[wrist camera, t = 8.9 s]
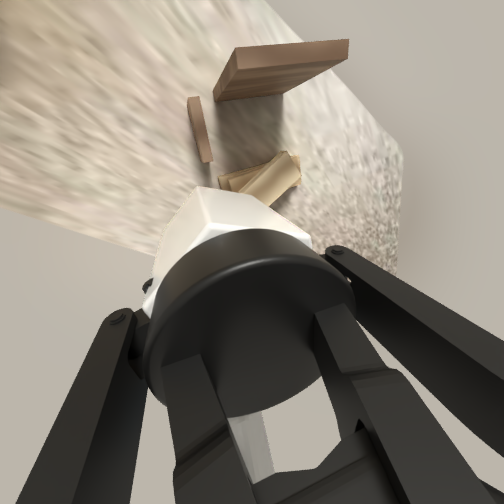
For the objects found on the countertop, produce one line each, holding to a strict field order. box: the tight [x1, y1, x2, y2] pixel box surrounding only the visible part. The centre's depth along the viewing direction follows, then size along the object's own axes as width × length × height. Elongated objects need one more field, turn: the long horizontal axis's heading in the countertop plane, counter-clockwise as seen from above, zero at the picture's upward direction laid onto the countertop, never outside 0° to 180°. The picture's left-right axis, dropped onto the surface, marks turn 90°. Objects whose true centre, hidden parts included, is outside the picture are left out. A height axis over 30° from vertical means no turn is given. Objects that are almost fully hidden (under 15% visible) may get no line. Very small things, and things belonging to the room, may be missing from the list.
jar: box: [142, 186, 356, 418], centre depth 13 cm, size 9×8×12 cm
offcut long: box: [218, 155, 301, 192], centre depth 40 cm, size 5×16×2 cm, turn 102°
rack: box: [187, 39, 349, 163], centre depth 28 cm, size 10×16×16 cm, turn 98°
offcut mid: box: [226, 156, 301, 193], centre depth 38 cm, size 5×13×2 cm, turn 106°
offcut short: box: [238, 151, 302, 207], centre depth 35 cm, size 5×10×2 cm, turn 130°
